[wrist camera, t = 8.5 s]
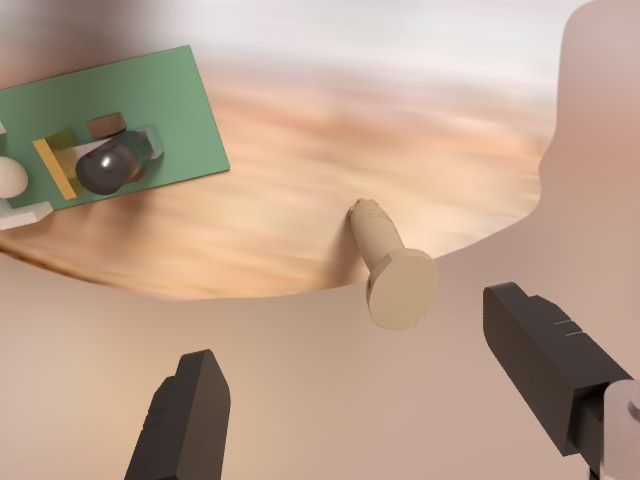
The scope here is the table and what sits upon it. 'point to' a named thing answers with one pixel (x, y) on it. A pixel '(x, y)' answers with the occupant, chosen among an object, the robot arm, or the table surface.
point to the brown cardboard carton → (111, 126)
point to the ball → (12, 178)
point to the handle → (392, 270)
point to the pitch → (107, 98)
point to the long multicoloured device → (97, 159)
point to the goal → (21, 210)
